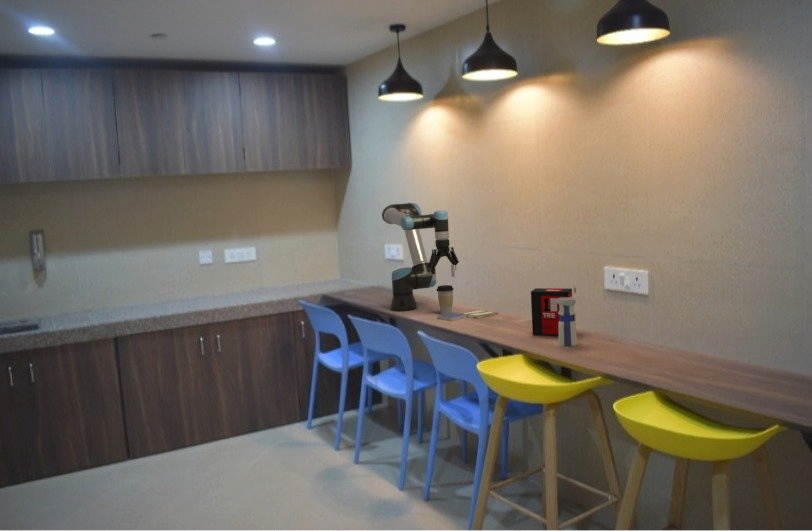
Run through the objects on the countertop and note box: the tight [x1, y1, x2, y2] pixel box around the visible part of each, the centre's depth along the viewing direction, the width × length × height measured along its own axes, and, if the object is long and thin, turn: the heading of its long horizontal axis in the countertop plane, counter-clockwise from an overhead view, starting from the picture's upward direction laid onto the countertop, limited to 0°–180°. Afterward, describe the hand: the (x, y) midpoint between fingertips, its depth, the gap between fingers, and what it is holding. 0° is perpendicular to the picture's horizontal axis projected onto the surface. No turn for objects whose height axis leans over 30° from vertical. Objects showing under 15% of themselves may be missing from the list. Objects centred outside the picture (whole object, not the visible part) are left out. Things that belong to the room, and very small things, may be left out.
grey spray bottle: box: [557, 285, 578, 347], centre depth 290 cm, size 8×8×25 cm
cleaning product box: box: [530, 287, 573, 337], centre depth 311 cm, size 16×9×20 cm, turn 66°
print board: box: [460, 309, 499, 320], centre depth 366 cm, size 15×15×1 cm
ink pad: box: [436, 311, 468, 322], centre depth 363 cm, size 11×11×2 cm
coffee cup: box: [436, 284, 454, 315], centre depth 376 cm, size 9×9×15 cm
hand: (444, 278), depth 374 cm, fingers open, 13 cm apart
